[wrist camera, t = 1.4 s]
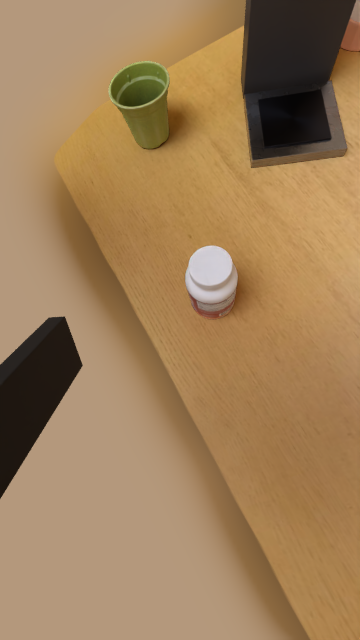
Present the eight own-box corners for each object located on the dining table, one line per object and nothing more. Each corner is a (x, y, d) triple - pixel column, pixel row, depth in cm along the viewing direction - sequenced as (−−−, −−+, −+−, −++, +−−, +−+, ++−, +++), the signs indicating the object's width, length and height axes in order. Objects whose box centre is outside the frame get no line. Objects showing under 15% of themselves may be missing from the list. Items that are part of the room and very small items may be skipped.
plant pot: (124, 159, 49) (104, 110, 40) (129, 118, 51) (112, 64, 43) (176, 155, 47) (166, 104, 39) (179, 113, 50) (171, 57, 41)
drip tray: (343, 156, 43) (348, 146, 41) (251, 168, 45) (252, 158, 43) (328, 90, 47) (332, 78, 45) (243, 103, 48) (244, 92, 47)
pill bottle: (195, 277, 41) (186, 235, 30) (237, 282, 40) (243, 240, 29) (188, 317, 39) (176, 288, 29) (231, 323, 38) (235, 295, 28)
